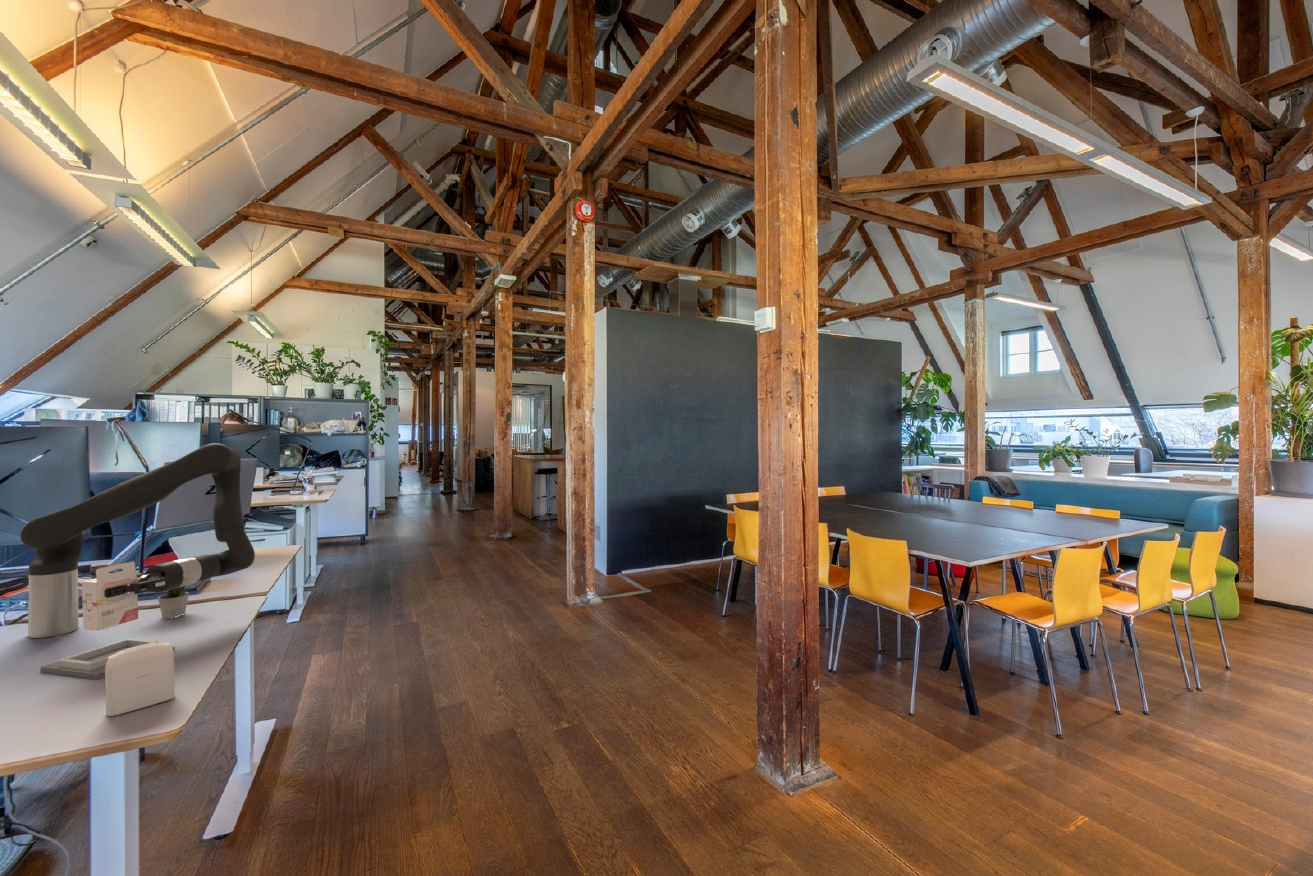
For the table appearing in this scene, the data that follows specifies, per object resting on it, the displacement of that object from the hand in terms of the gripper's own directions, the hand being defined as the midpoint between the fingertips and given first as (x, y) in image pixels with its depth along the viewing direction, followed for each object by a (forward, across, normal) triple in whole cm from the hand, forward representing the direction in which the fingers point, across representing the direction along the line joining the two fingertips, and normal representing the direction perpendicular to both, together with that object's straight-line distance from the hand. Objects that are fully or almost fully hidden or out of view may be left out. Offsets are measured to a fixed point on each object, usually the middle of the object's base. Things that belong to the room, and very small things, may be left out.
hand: (97, 592), depth 129 cm
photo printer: (+13, +32, +18) cm, 39 cm away
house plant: (-31, -23, +18) cm, 43 cm away
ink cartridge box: (-3, 0, +9) cm, 9 cm away
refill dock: (-2, 0, +18) cm, 18 cm away
